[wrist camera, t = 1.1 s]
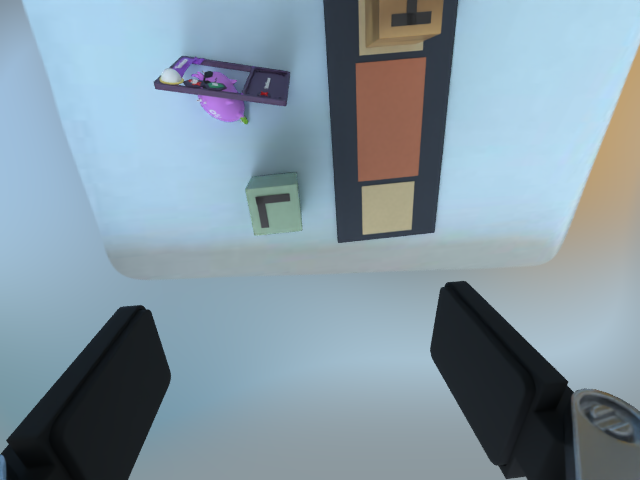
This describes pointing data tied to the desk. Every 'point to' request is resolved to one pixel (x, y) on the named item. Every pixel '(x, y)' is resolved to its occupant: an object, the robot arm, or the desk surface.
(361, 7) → the word mat
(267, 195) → the sage letter block
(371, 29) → the honey letter block
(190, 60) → the purple boxed toy figure
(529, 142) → the desk surface
